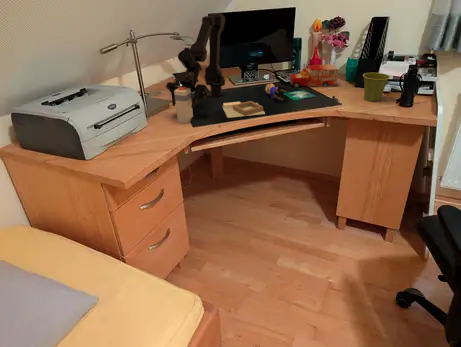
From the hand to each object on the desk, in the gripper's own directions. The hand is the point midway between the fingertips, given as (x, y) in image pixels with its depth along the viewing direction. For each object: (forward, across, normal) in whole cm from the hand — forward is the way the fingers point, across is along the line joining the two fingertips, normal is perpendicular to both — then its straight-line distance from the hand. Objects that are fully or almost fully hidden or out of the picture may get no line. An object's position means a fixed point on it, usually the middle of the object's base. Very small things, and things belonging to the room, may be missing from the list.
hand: (182, 106), depth 150 cm
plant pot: (-31, +75, +41) cm, 91 cm away
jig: (-8, +21, +17) cm, 28 cm away
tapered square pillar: (+4, 0, +6) cm, 7 cm away
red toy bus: (-43, +44, +53) cm, 81 cm away
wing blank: (-10, +15, +18) cm, 26 cm away
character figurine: (-23, +30, +33) cm, 51 cm away
